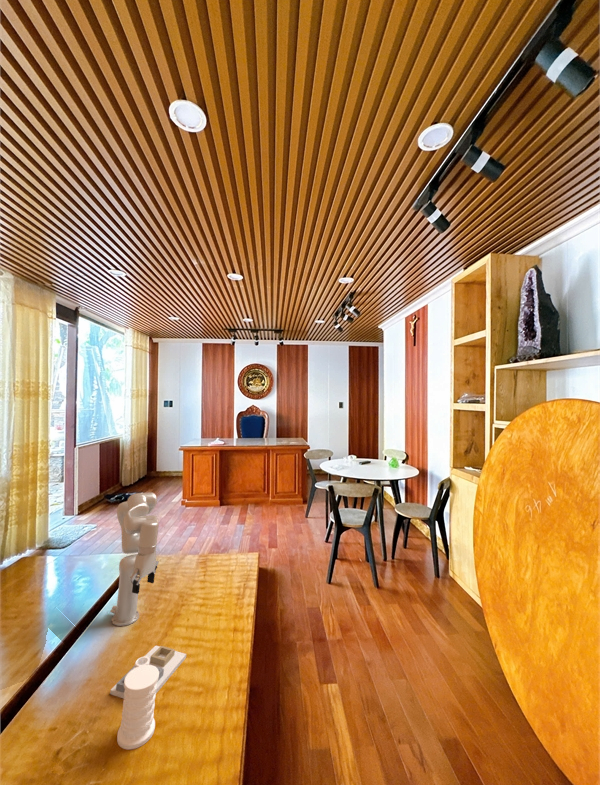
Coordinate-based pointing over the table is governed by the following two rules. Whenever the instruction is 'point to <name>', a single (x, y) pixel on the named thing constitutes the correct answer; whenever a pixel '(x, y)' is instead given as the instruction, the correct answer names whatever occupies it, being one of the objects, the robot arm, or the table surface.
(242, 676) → the table surface
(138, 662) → the pipe fitting
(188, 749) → the table surface
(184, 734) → the table surface
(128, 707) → the white carved column
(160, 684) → the board
